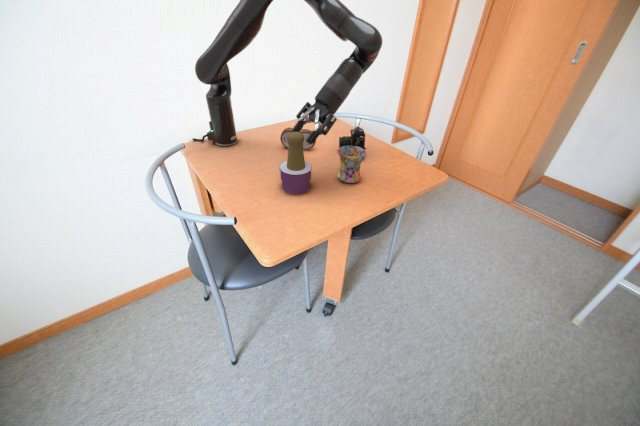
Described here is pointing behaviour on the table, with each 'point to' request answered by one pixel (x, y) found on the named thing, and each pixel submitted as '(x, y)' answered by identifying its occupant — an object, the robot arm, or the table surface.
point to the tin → (304, 131)
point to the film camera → (353, 139)
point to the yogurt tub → (295, 179)
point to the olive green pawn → (295, 151)
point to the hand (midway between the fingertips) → (300, 137)
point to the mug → (350, 163)
